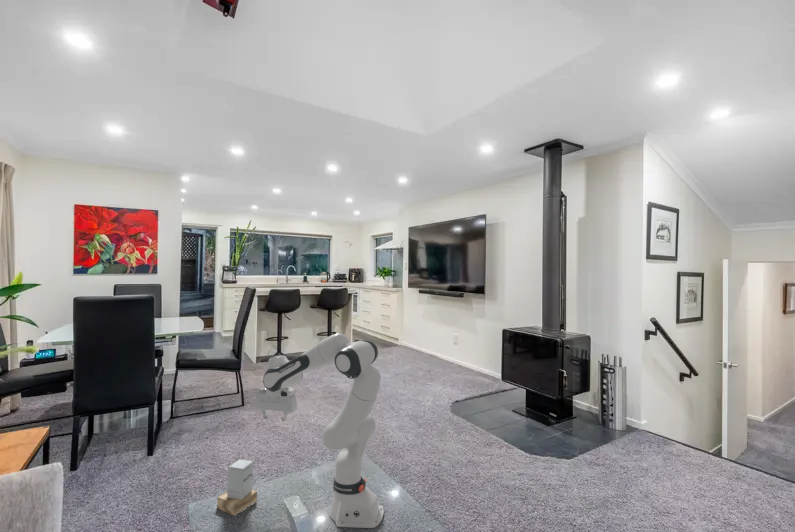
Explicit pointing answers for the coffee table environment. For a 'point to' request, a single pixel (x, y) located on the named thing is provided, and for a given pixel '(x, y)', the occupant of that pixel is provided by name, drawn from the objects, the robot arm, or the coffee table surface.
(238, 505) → the oak riser block
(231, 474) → the supplement box
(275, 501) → the coffee table surface
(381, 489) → the coffee table surface
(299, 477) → the coffee table surface
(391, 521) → the coffee table surface
